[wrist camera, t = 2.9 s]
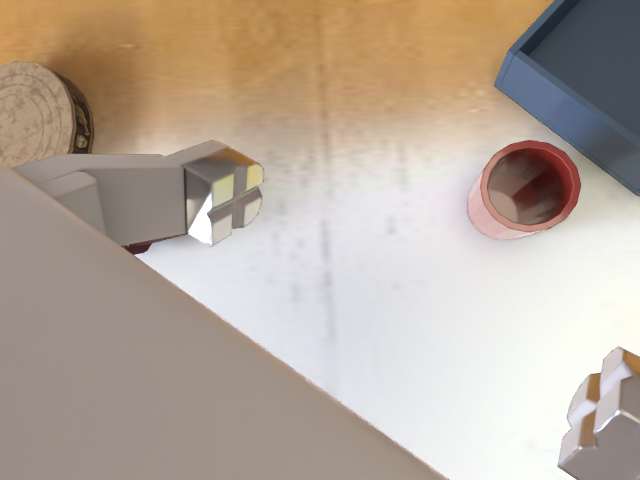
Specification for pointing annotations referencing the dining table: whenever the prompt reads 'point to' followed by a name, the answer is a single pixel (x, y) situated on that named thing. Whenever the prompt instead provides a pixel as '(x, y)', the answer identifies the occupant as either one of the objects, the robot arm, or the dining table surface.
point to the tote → (583, 80)
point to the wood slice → (41, 115)
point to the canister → (523, 191)
